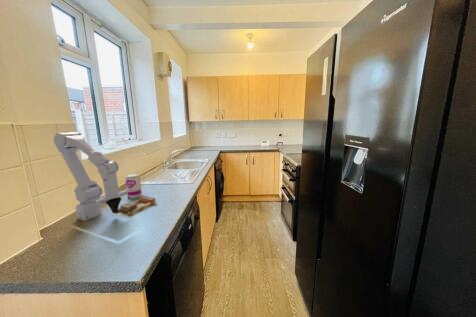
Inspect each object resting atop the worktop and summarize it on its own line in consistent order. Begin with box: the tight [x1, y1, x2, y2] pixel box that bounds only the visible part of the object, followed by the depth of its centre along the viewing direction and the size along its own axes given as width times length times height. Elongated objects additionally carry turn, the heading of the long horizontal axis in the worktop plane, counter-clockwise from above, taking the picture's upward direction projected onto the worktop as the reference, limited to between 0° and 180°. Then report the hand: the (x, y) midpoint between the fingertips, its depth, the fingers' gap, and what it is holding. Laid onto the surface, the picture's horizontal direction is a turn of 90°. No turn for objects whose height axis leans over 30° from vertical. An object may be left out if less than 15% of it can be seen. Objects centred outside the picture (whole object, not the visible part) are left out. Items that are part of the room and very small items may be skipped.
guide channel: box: [113, 195, 158, 218], centre depth 106 cm, size 18×13×4 cm
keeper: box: [119, 201, 137, 213], centre depth 103 cm, size 5×6×4 cm
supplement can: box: [124, 173, 143, 200], centre depth 122 cm, size 8×8×15 cm
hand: (115, 212), depth 96 cm, fingers closed
